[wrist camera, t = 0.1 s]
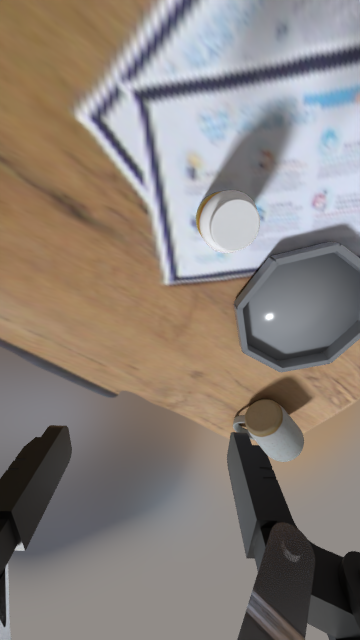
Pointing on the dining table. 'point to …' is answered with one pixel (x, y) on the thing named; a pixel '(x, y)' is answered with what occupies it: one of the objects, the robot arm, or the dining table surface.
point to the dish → (301, 307)
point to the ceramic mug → (271, 430)
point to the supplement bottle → (228, 221)
